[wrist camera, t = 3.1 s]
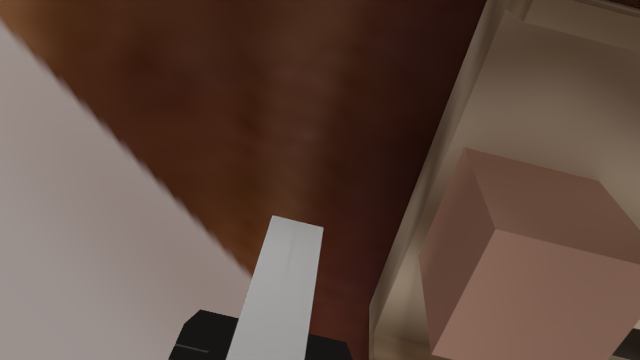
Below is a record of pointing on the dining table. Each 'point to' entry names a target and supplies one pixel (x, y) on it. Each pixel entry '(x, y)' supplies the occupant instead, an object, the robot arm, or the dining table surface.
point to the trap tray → (523, 134)
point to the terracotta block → (528, 265)
